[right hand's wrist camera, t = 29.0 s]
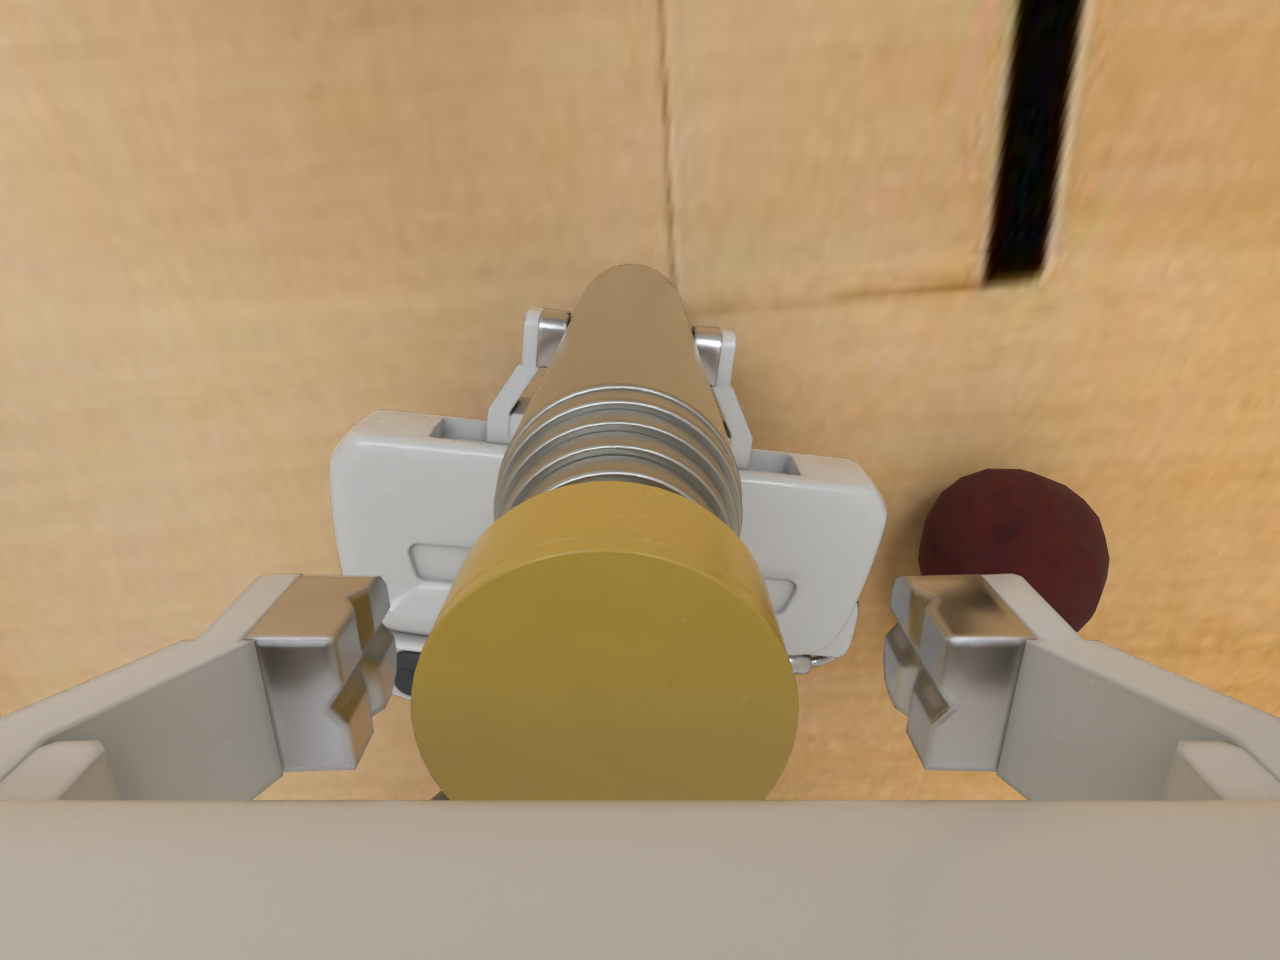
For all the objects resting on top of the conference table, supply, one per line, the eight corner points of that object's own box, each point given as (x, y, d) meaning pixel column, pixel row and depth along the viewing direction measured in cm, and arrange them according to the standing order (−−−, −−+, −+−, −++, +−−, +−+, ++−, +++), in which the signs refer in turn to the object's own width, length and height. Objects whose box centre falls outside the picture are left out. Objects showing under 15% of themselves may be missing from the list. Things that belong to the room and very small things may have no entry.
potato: (936, 619, 37) (1000, 713, 30) (867, 495, 35) (920, 569, 28) (1080, 547, 36) (1180, 630, 29) (1019, 413, 33) (1112, 471, 27)
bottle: (697, 349, 32) (840, 769, 9) (601, 384, 33) (510, 862, 10) (662, 248, 31) (730, 448, 8) (562, 286, 31) (347, 581, 8)
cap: (776, 743, 10) (802, 854, 9) (480, 765, 11) (449, 878, 9) (766, 464, 9) (795, 532, 7) (421, 494, 9) (369, 567, 7)
